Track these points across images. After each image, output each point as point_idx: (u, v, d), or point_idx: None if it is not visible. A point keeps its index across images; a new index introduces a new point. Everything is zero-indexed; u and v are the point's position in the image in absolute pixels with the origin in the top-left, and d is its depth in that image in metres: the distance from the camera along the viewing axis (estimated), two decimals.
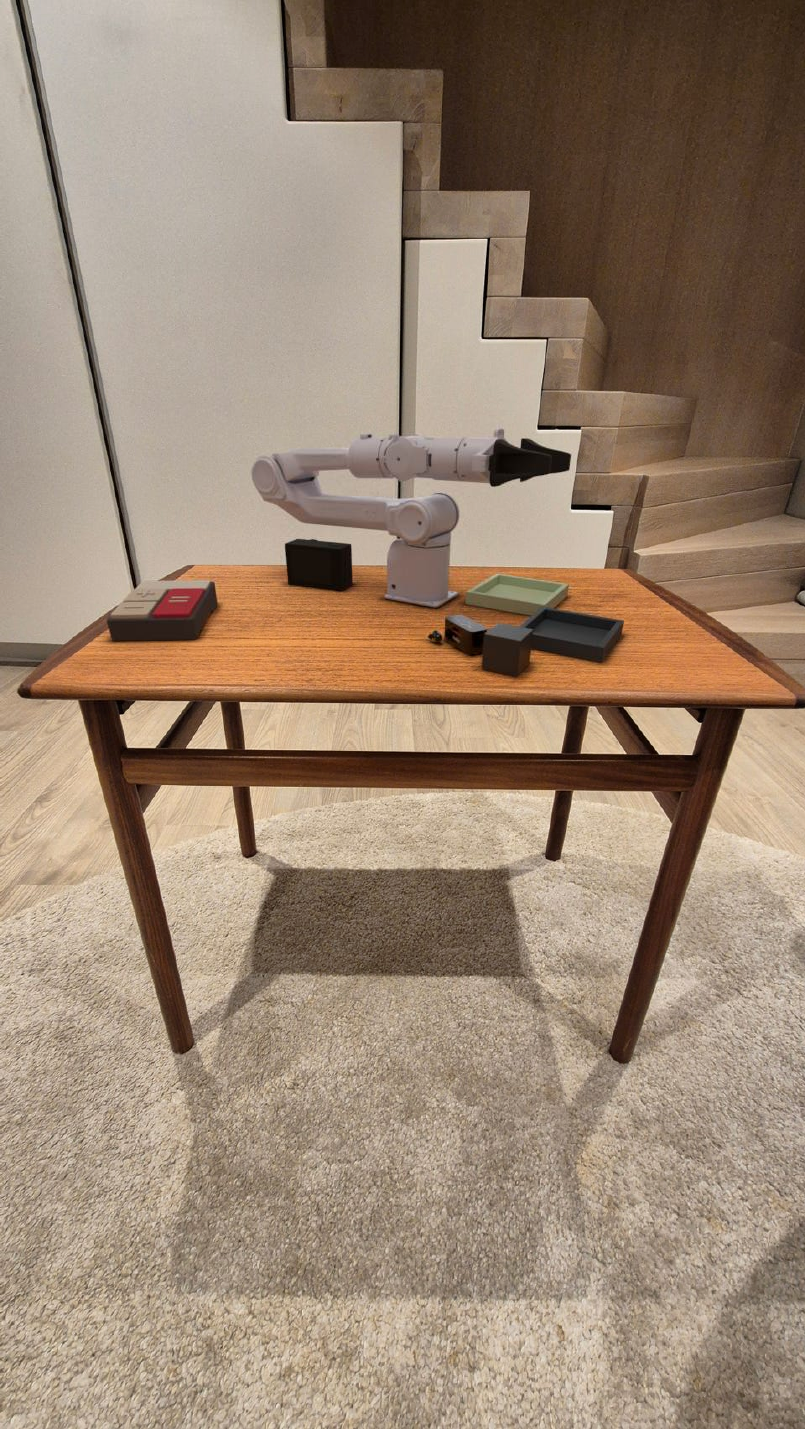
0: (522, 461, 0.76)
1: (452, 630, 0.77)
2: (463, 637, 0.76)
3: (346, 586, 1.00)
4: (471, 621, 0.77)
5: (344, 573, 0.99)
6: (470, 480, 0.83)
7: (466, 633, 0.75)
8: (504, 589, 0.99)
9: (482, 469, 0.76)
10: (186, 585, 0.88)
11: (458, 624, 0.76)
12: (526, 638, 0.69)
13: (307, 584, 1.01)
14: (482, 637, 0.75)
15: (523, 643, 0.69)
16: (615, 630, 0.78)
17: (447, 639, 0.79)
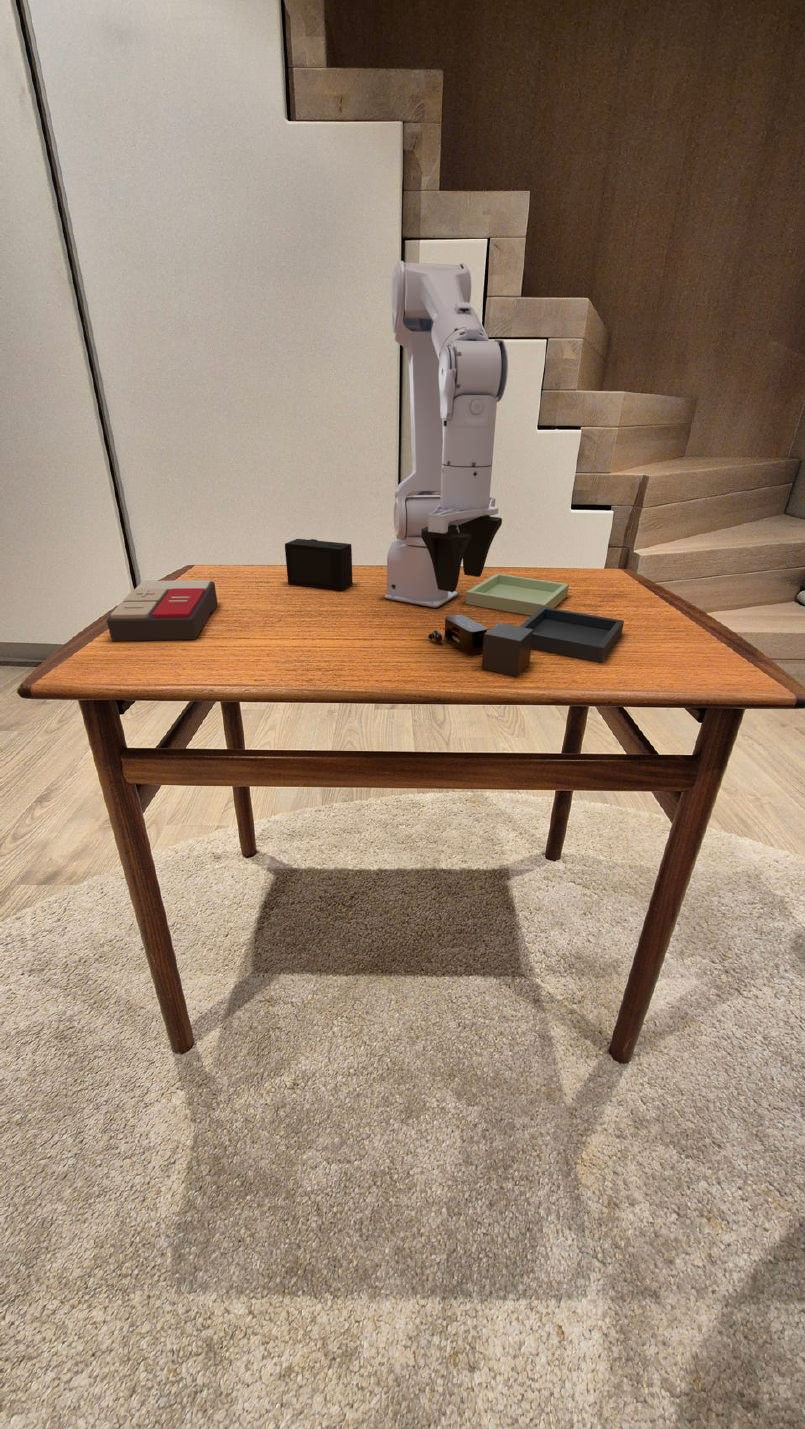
0: (448, 561, 0.69)
1: (452, 630, 0.77)
2: (463, 637, 0.76)
3: (346, 586, 1.00)
4: (471, 621, 0.77)
5: (344, 573, 0.99)
6: (441, 478, 0.69)
7: (466, 633, 0.75)
8: (504, 589, 0.99)
9: (431, 528, 0.65)
10: (186, 585, 0.88)
11: (458, 624, 0.76)
12: (526, 638, 0.69)
13: (307, 584, 1.01)
14: (482, 637, 0.75)
15: (523, 643, 0.69)
16: (615, 630, 0.78)
17: (447, 639, 0.79)
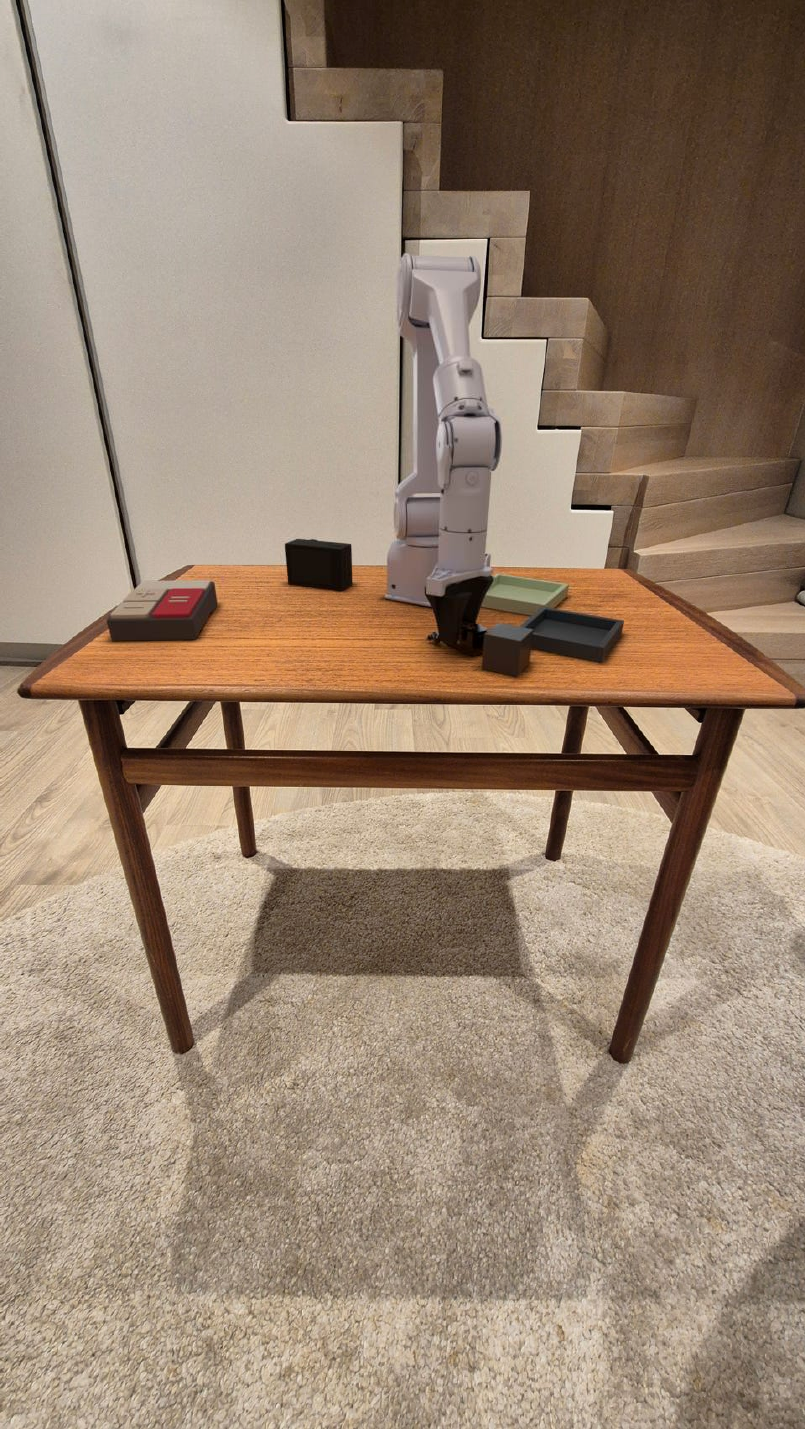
0: (450, 616, 0.74)
1: None
2: (462, 638, 0.75)
3: (346, 586, 1.00)
4: (470, 622, 0.77)
5: (344, 573, 0.99)
6: None
7: (466, 634, 0.74)
8: (504, 589, 0.99)
9: (429, 591, 0.69)
10: (186, 585, 0.88)
11: None
12: (526, 638, 0.69)
13: (307, 584, 1.01)
14: (482, 638, 0.75)
15: (523, 643, 0.69)
16: (615, 630, 0.78)
17: None
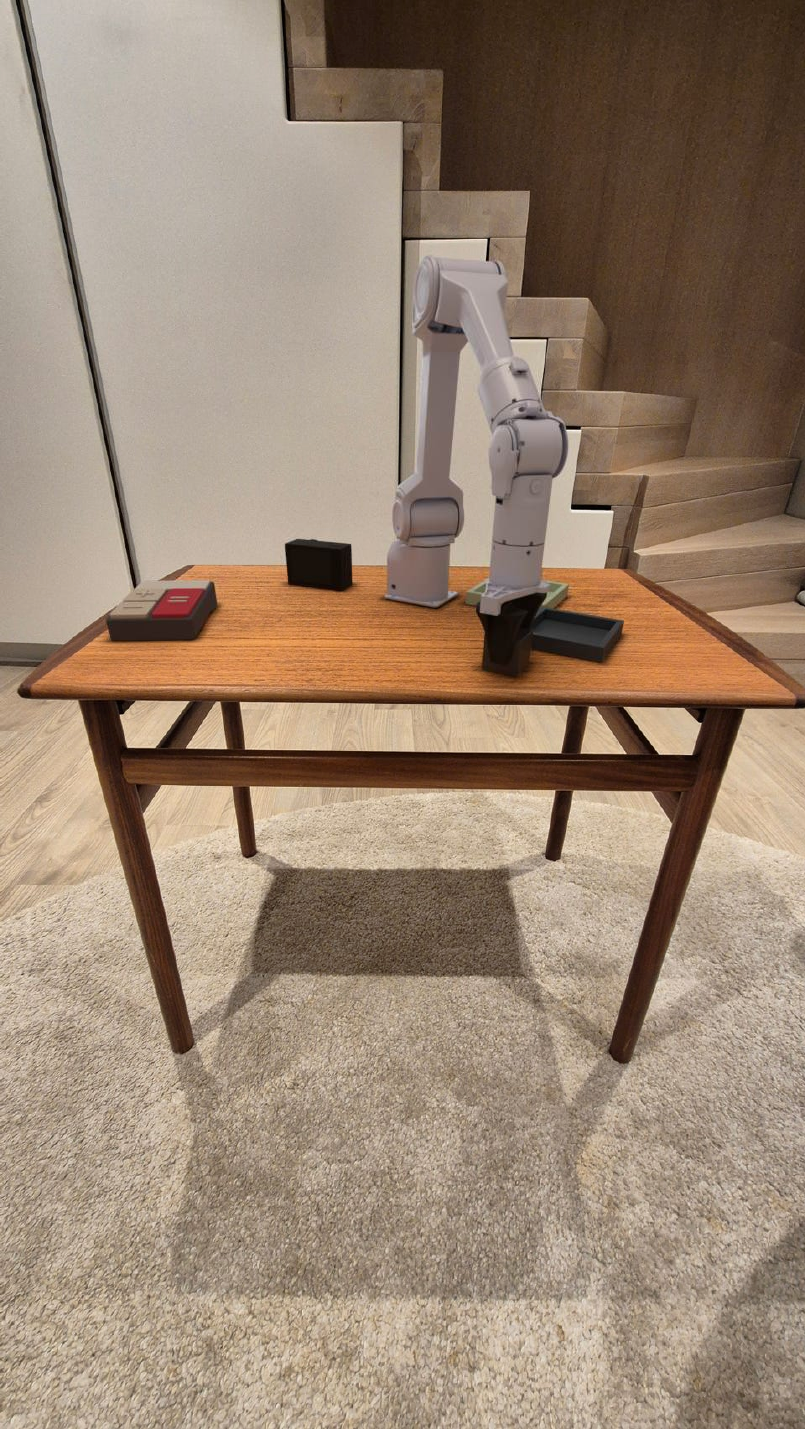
0: (502, 636, 0.68)
1: None
2: None
3: (346, 586, 1.00)
4: None
5: (344, 573, 0.99)
6: (491, 553, 0.66)
7: None
8: None
9: (483, 610, 0.63)
10: (186, 585, 0.88)
11: None
12: (526, 638, 0.69)
13: (307, 584, 1.01)
14: None
15: (523, 643, 0.69)
16: (615, 630, 0.78)
17: None
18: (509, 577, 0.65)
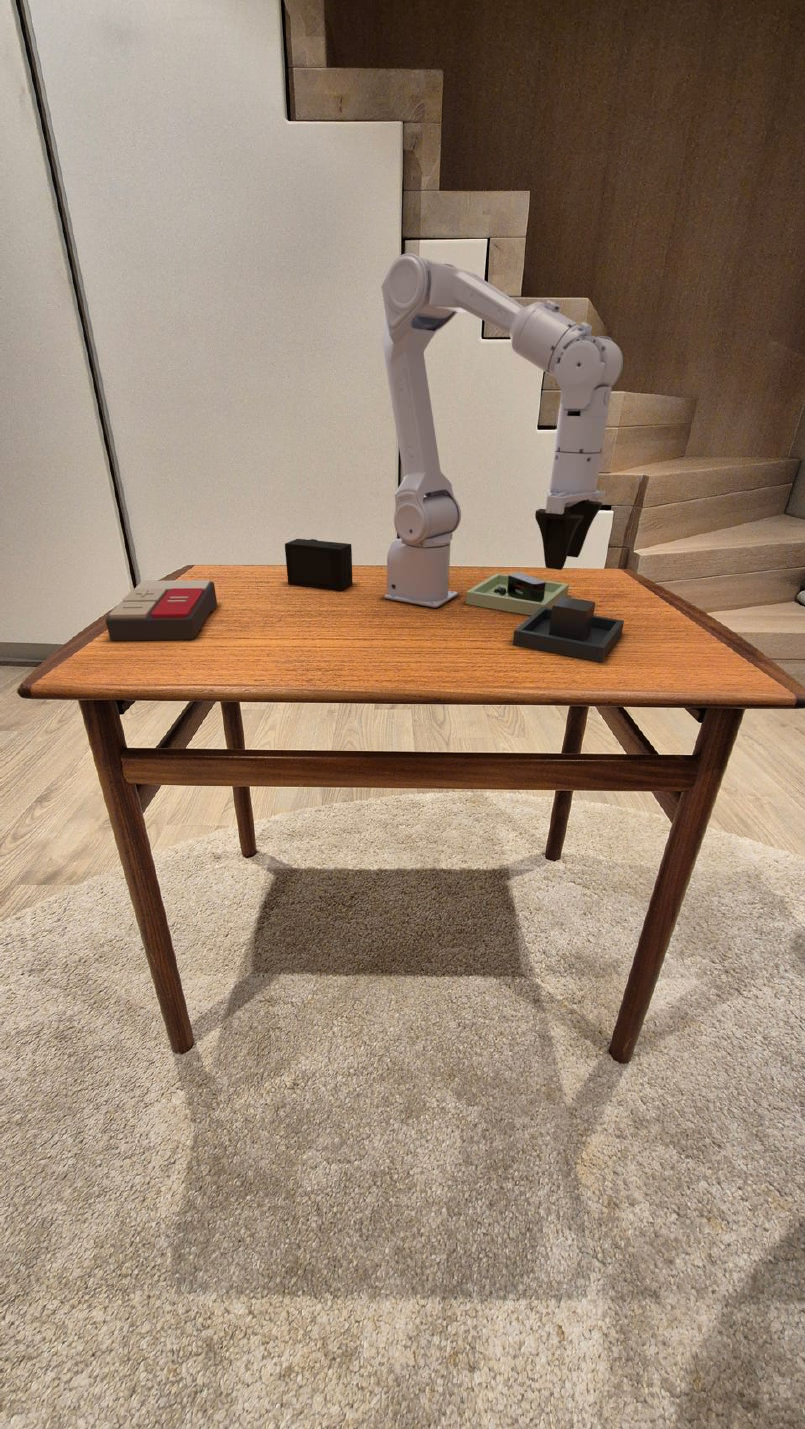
0: (559, 541, 0.75)
1: (515, 584, 0.94)
2: (525, 589, 0.93)
3: (346, 586, 1.00)
4: (531, 577, 0.94)
5: (344, 573, 0.99)
6: (553, 464, 0.74)
7: (529, 585, 0.92)
8: None
9: (548, 510, 0.71)
10: (185, 585, 0.88)
11: (521, 579, 0.93)
12: (590, 609, 0.77)
13: (307, 584, 1.01)
14: (542, 589, 0.92)
15: (588, 613, 0.77)
16: (615, 630, 0.78)
17: (510, 592, 0.96)
18: (570, 483, 0.73)
